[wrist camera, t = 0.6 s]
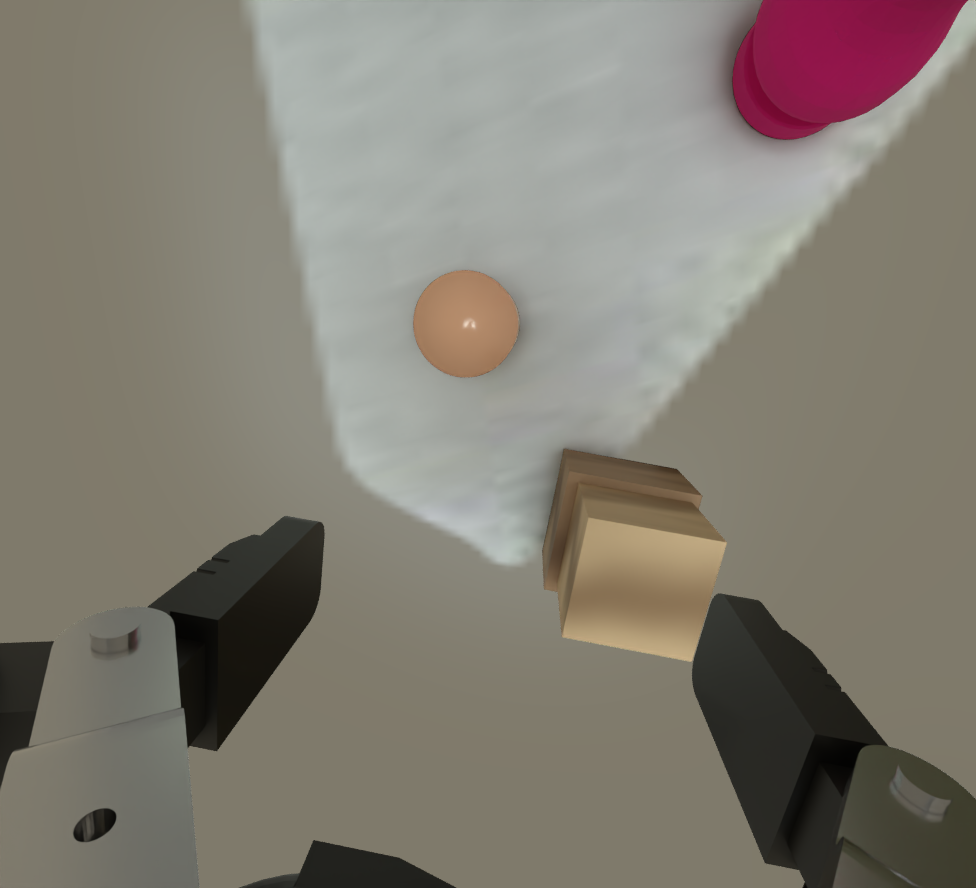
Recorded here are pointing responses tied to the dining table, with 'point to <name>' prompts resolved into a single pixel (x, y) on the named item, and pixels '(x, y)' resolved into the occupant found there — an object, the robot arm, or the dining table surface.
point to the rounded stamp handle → (465, 323)
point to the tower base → (603, 474)
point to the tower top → (637, 572)
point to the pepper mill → (832, 59)
